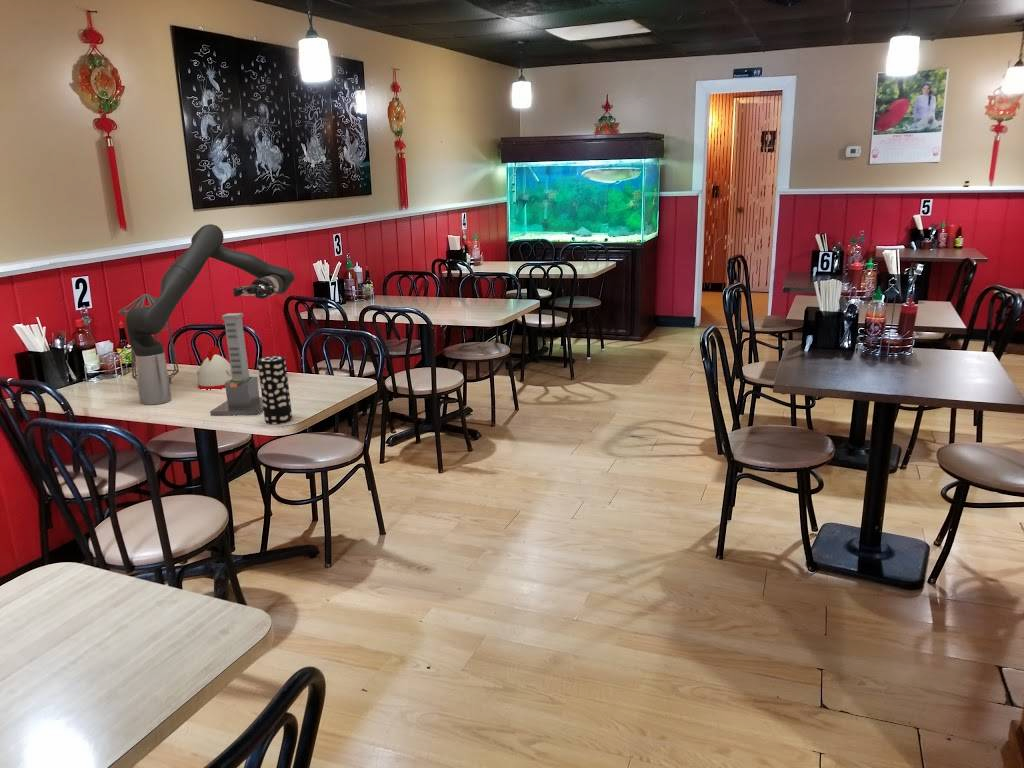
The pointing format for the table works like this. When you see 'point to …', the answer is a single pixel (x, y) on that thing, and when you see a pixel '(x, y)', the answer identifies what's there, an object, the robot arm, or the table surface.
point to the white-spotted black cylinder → (274, 389)
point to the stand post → (236, 346)
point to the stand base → (240, 399)
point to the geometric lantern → (150, 299)
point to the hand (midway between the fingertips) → (246, 293)
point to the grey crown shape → (214, 371)
